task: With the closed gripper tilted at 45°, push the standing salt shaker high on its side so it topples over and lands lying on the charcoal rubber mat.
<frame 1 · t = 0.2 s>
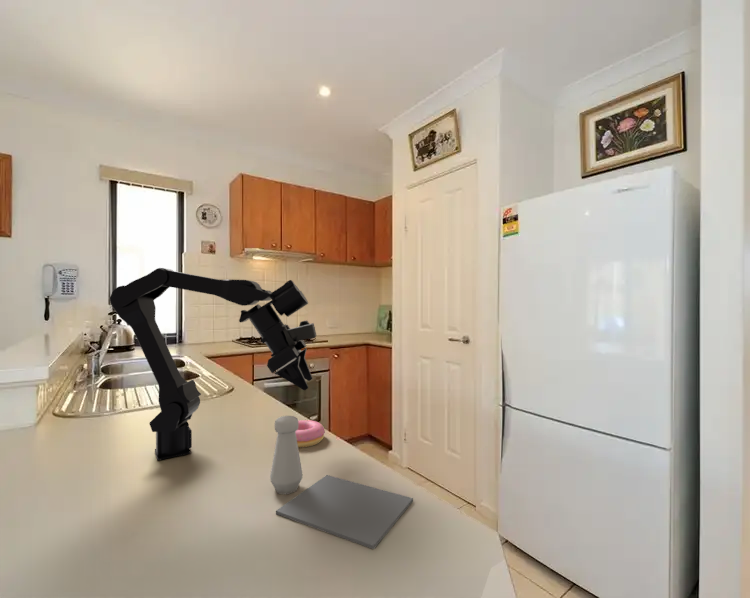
hand: (308, 384, 87), 15 cm above the counter, tool tilted 35°, fingers open, 9 cm apart
doughnut: (302, 442, 92), on the counter
salt shaker: (286, 489, 69), on the counter
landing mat: (346, 507, 63), on the counter
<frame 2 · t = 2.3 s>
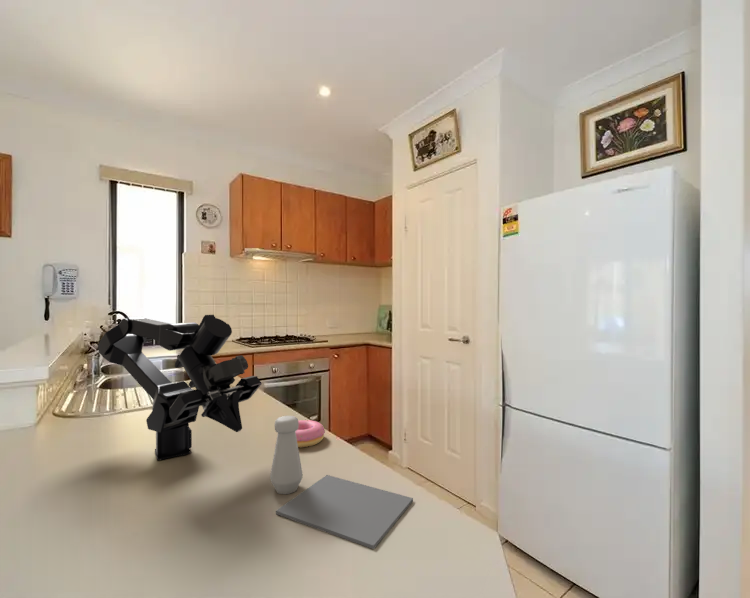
hand: (239, 430, 74), 9 cm above the counter, tool tilted 45°, fingers closed
nothing on the counter moved.
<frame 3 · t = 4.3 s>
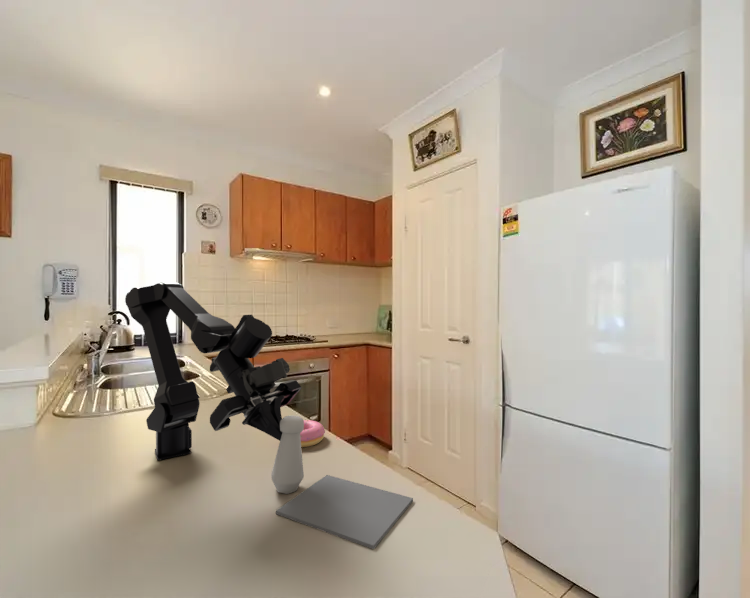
hand: (283, 439, 69), 9 cm above the counter, tool tilted 45°, fingers closed
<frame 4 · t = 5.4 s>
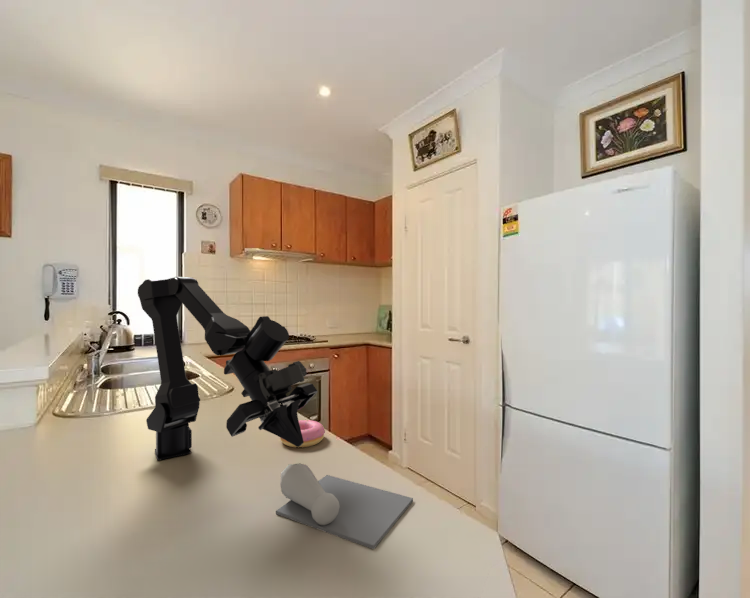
hand: (301, 444, 67), 9 cm above the counter, tool tilted 45°, fingers closed
salt shaker: (290, 474, 67), point 4 cm above the counter, touching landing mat
everything else where it was.
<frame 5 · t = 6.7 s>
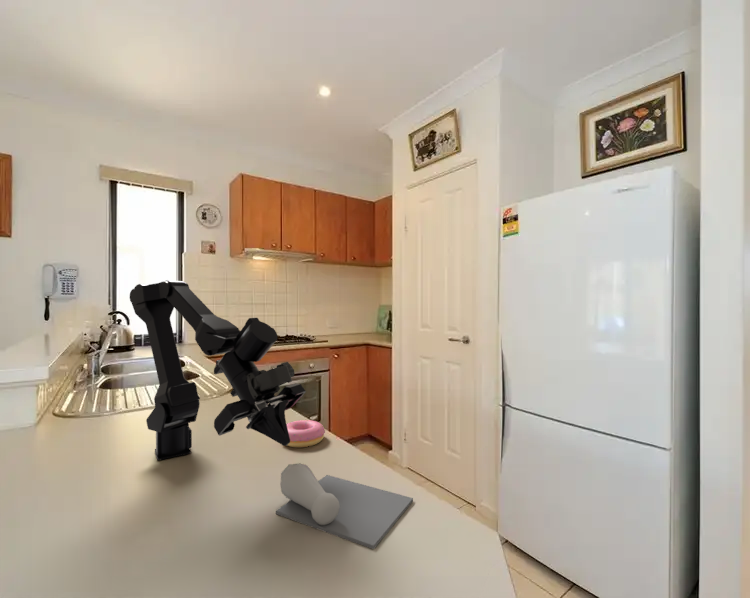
hand: (287, 444, 69), 8 cm above the counter, tool tilted 45°, fingers closed
nothing on the counter moved.
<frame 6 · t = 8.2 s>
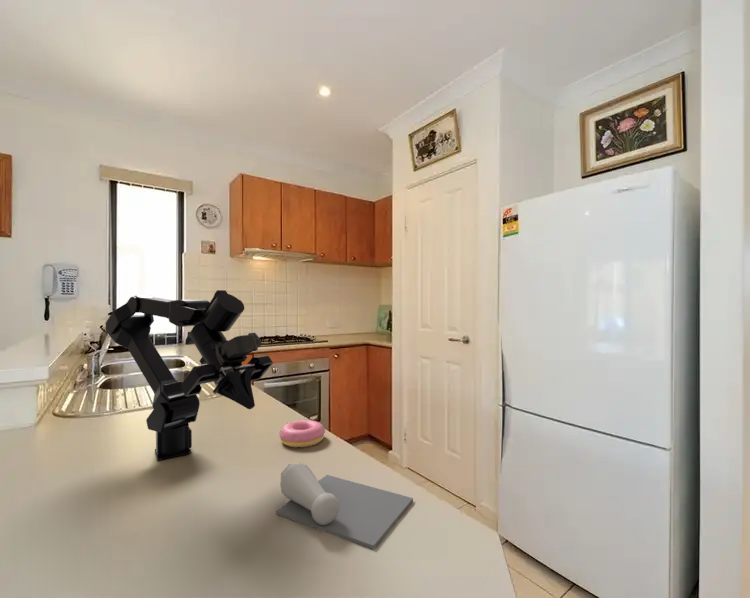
hand: (252, 407, 73), 14 cm above the counter, tool tilted 45°, fingers closed
nothing on the counter moved.
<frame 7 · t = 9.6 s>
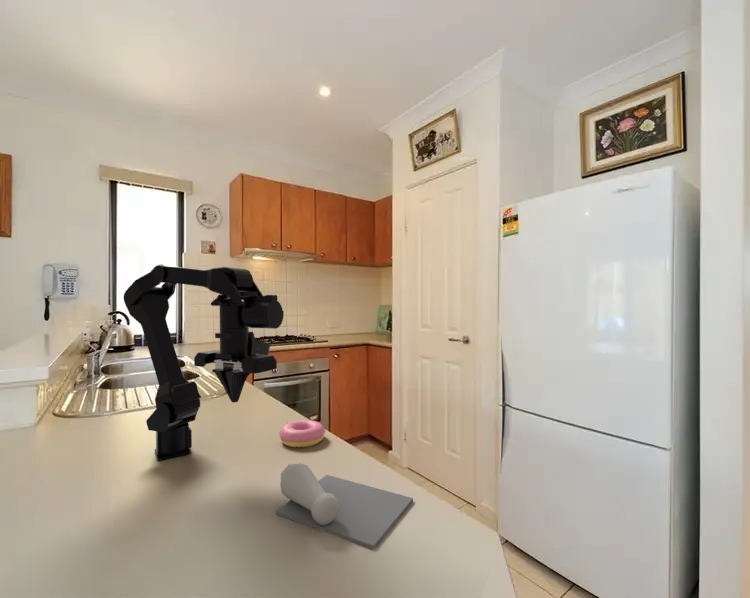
hand: (234, 401, 79), 13 cm above the counter, tool pointing down, fingers closed
nothing on the counter moved.
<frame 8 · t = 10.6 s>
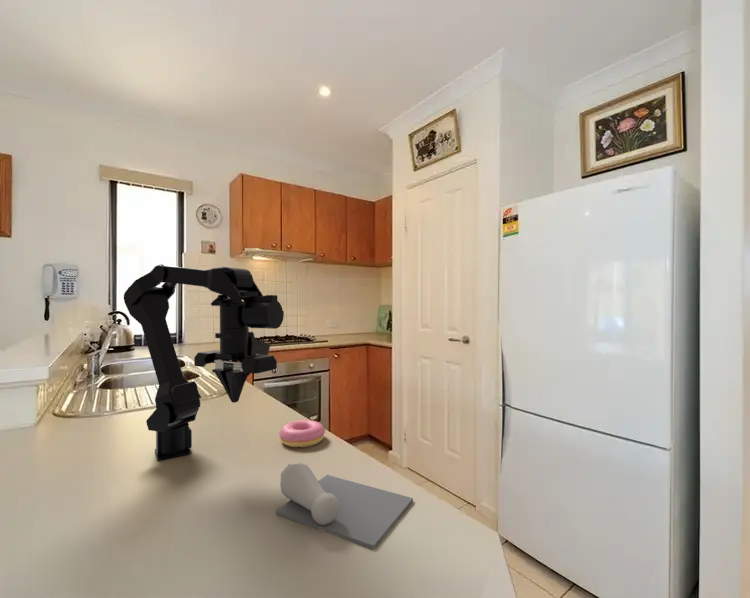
hand: (234, 402, 79), 13 cm above the counter, tool pointing down, fingers closed
nothing on the counter moved.
at the end: salt shaker tilted 95°; salt shaker touching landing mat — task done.
